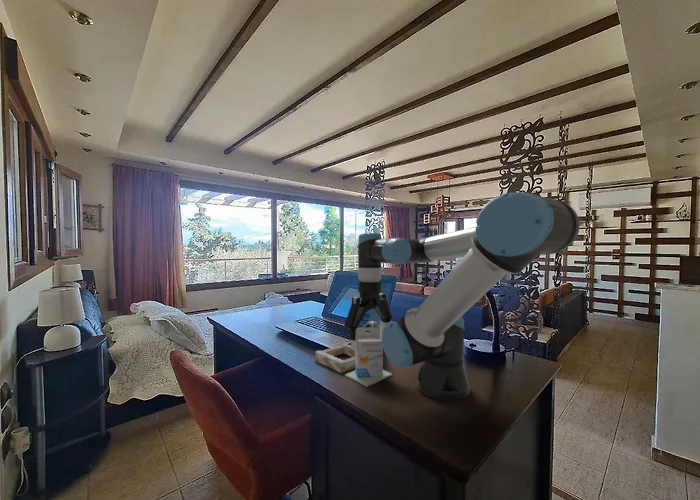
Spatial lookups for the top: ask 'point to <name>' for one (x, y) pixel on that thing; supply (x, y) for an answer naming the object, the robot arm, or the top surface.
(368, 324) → the watch
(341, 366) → the dispenser collar
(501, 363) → the top surface
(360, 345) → the ink box
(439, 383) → the robot arm
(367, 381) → the mat
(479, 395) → the top surface
